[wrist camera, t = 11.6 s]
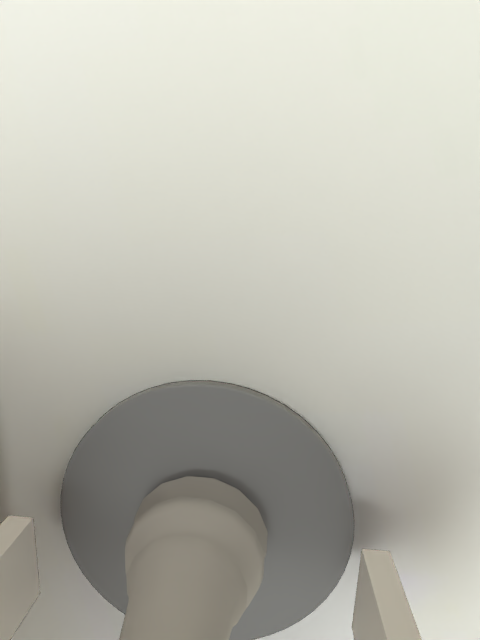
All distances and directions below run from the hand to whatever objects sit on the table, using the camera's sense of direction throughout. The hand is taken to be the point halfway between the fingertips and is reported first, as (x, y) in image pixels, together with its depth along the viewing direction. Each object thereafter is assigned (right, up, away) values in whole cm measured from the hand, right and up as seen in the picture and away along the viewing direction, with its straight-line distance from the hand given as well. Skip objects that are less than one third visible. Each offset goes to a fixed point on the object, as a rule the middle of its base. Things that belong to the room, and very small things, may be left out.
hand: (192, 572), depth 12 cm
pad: (0, +1, +2) cm, 2 cm away
